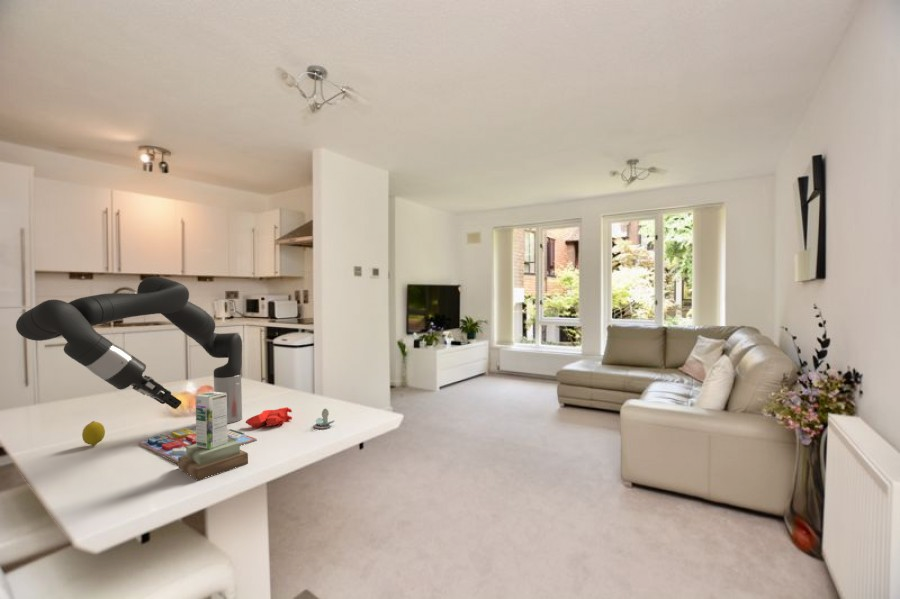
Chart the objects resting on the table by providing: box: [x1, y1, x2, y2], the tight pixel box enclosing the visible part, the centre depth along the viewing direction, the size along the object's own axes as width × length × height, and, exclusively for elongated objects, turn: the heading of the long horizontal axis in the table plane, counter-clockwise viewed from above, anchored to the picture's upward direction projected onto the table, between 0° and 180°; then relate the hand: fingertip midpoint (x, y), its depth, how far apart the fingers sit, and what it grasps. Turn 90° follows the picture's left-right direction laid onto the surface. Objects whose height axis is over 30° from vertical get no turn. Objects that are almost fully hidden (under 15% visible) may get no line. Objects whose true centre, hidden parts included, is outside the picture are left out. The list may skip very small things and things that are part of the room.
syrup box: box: [195, 391, 228, 449], centre depth 115 cm, size 6×6×14 cm
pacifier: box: [313, 408, 335, 430], centre depth 148 cm, size 7×6×6 cm
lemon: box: [82, 420, 106, 447], centre depth 133 cm, size 6×6×8 cm
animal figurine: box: [245, 407, 293, 429], centre depth 151 cm, size 12×15×5 cm
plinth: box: [177, 438, 249, 481], centre depth 116 cm, size 13×13×6 cm
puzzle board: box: [138, 427, 258, 464], centre depth 135 cm, size 30×23×3 cm
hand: (172, 403), depth 108 cm, fingers open, 8 cm apart
